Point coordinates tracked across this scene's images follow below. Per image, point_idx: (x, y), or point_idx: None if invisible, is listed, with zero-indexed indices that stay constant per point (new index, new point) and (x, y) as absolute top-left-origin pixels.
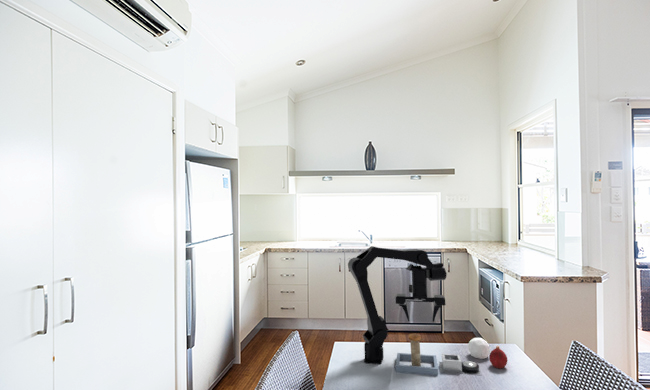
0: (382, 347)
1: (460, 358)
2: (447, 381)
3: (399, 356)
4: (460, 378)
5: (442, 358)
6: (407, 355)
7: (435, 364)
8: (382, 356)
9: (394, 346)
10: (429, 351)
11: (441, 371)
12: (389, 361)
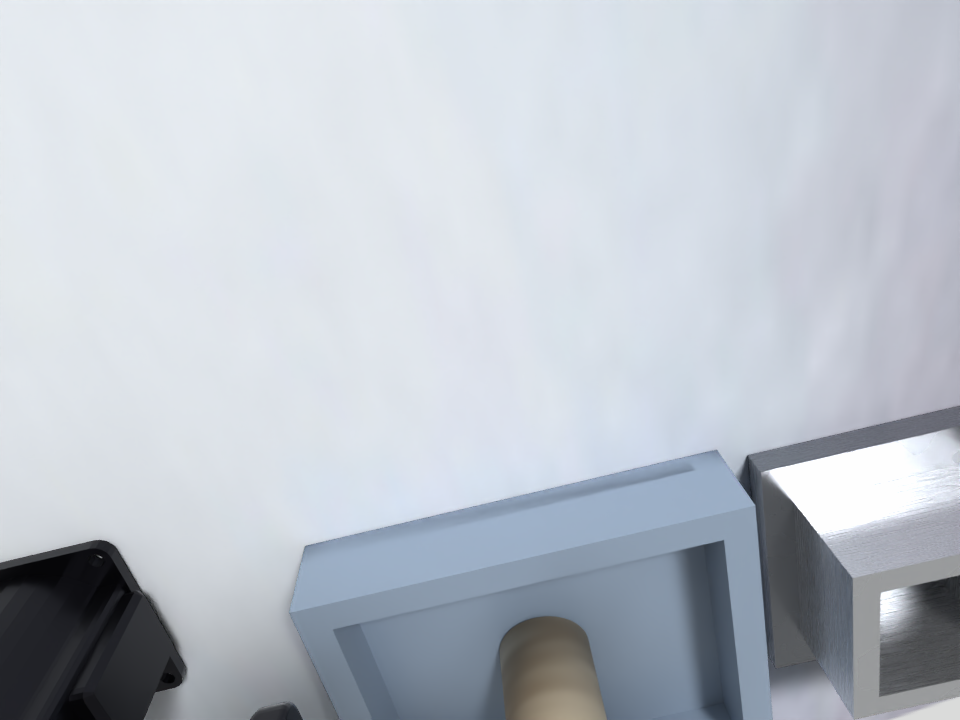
0: (94, 717)
1: None
2: (813, 711)
3: (354, 685)
4: None
5: (839, 619)
6: (419, 600)
7: (753, 705)
8: (157, 681)
9: (21, 95)
10: (597, 83)
11: (781, 655)
12: (231, 586)
